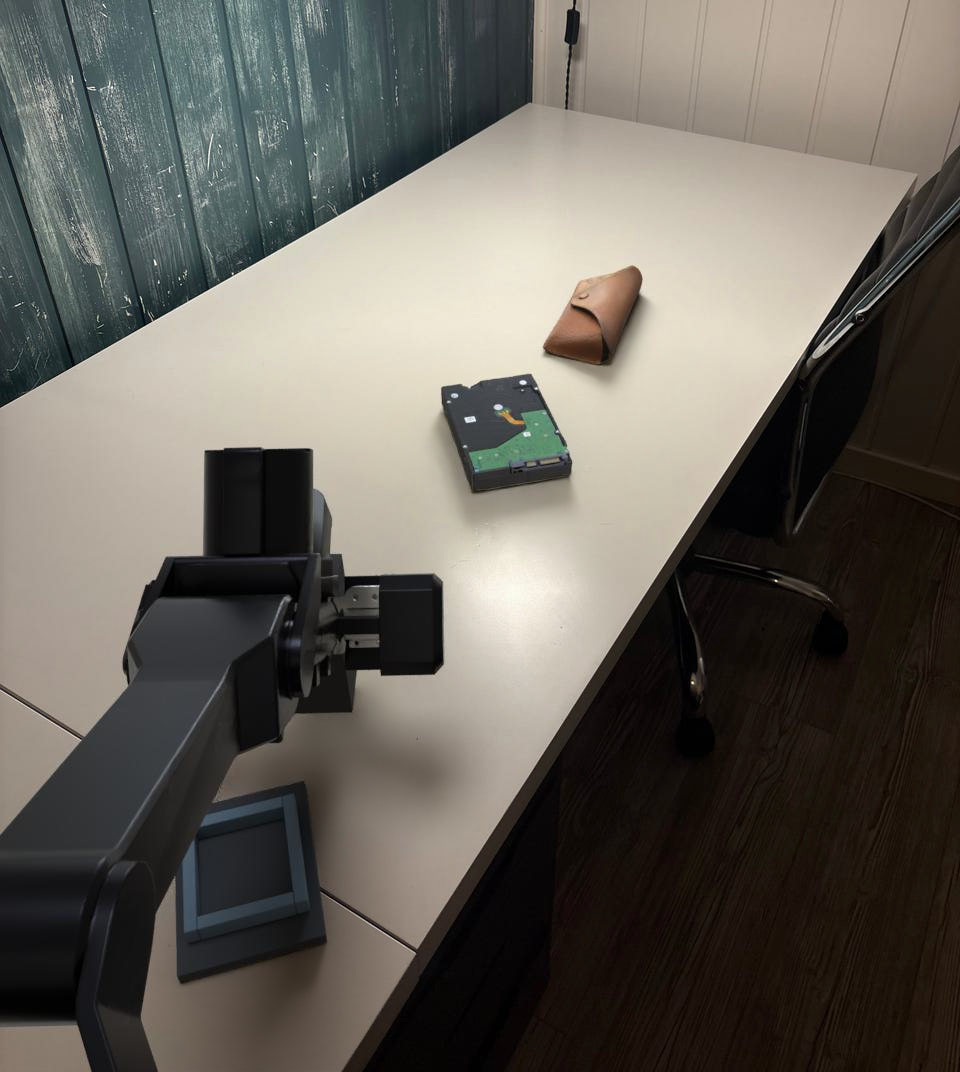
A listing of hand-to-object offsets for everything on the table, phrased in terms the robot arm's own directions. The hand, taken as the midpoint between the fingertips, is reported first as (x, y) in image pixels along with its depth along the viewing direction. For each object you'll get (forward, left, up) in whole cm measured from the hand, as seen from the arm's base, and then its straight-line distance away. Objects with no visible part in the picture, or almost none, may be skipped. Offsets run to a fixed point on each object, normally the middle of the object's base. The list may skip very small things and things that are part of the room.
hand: (317, 615), depth 68 cm
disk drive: (+27, -22, -10) cm, 36 cm away
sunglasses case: (+46, -39, -10) cm, 61 cm away
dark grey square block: (-1, 0, -7) cm, 7 cm away
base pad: (-13, +7, -9) cm, 18 cm away
